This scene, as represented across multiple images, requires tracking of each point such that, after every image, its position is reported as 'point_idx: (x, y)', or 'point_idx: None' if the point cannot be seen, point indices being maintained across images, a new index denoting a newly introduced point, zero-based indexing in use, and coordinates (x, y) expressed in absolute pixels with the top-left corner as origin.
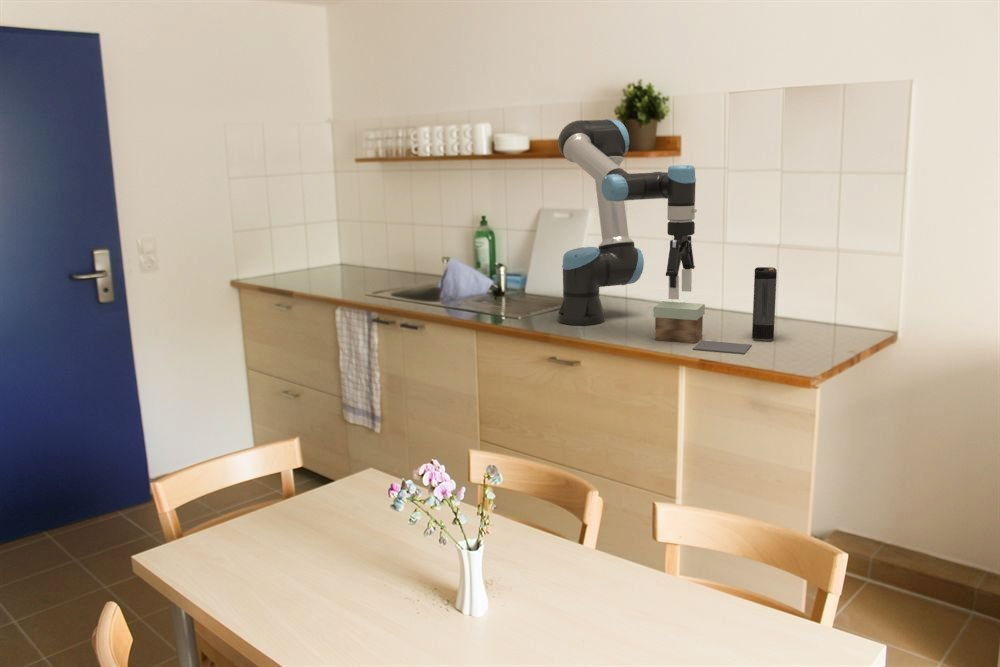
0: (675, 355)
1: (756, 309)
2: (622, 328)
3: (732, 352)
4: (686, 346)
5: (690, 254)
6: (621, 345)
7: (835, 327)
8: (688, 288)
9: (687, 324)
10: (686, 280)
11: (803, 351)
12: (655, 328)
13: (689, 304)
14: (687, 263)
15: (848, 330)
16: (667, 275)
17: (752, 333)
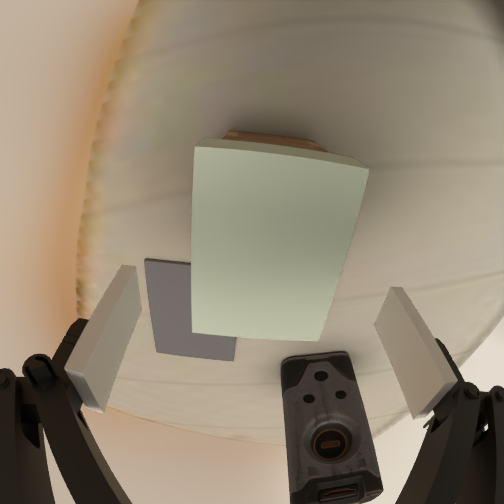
0: (79, 228)
1: (287, 421)
2: (380, 8)
3: (154, 334)
4: (176, 238)
5: (461, 488)
6: (126, 51)
7: (389, 415)
8: (383, 326)
9: None
10: (404, 349)
11: (221, 408)
12: (225, 136)
13: (300, 298)
14: (427, 446)
15: (369, 425)
16: (36, 365)
17: (291, 367)
